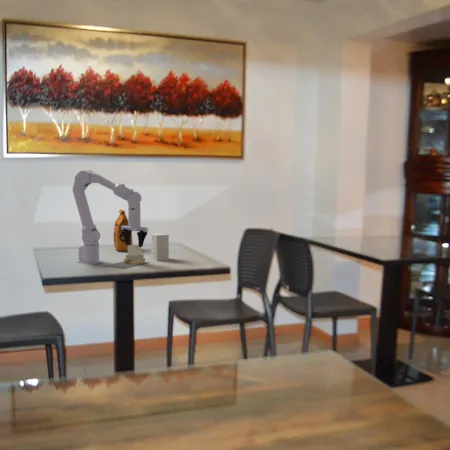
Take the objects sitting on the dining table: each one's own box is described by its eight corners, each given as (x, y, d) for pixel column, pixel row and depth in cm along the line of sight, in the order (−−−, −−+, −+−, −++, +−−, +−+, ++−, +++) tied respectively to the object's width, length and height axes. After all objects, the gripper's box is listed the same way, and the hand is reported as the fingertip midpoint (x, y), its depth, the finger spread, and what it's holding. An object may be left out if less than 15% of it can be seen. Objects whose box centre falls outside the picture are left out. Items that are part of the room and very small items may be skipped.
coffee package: (114, 252, 314) (114, 211, 312) (113, 248, 326) (112, 209, 324) (133, 251, 316) (133, 211, 314) (131, 248, 328) (131, 209, 326)
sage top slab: (125, 259, 278) (125, 254, 278) (133, 257, 283) (133, 253, 283) (135, 260, 275) (135, 256, 275) (143, 258, 280) (143, 254, 280)
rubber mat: (102, 266, 270) (102, 266, 270) (129, 260, 287) (129, 260, 287) (124, 269, 264) (124, 269, 264) (151, 263, 281) (151, 262, 281)
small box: (168, 261, 288) (168, 234, 287) (156, 261, 286) (156, 235, 284) (163, 258, 296) (163, 232, 294) (151, 259, 293) (151, 233, 291)
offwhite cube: (127, 254, 278) (127, 245, 278) (133, 253, 282) (133, 244, 281) (135, 255, 276) (135, 246, 275) (141, 254, 280) (141, 245, 279)
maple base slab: (124, 263, 278) (124, 259, 278) (133, 261, 284) (133, 257, 284) (135, 264, 275) (135, 260, 275) (144, 262, 281) (144, 258, 281)
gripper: (116, 217, 277) (117, 245, 279) (141, 219, 270) (141, 248, 272) (126, 216, 283) (126, 243, 285) (150, 218, 276) (150, 246, 278)
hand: (134, 246), depth 279 cm, fingers open, 7 cm apart
